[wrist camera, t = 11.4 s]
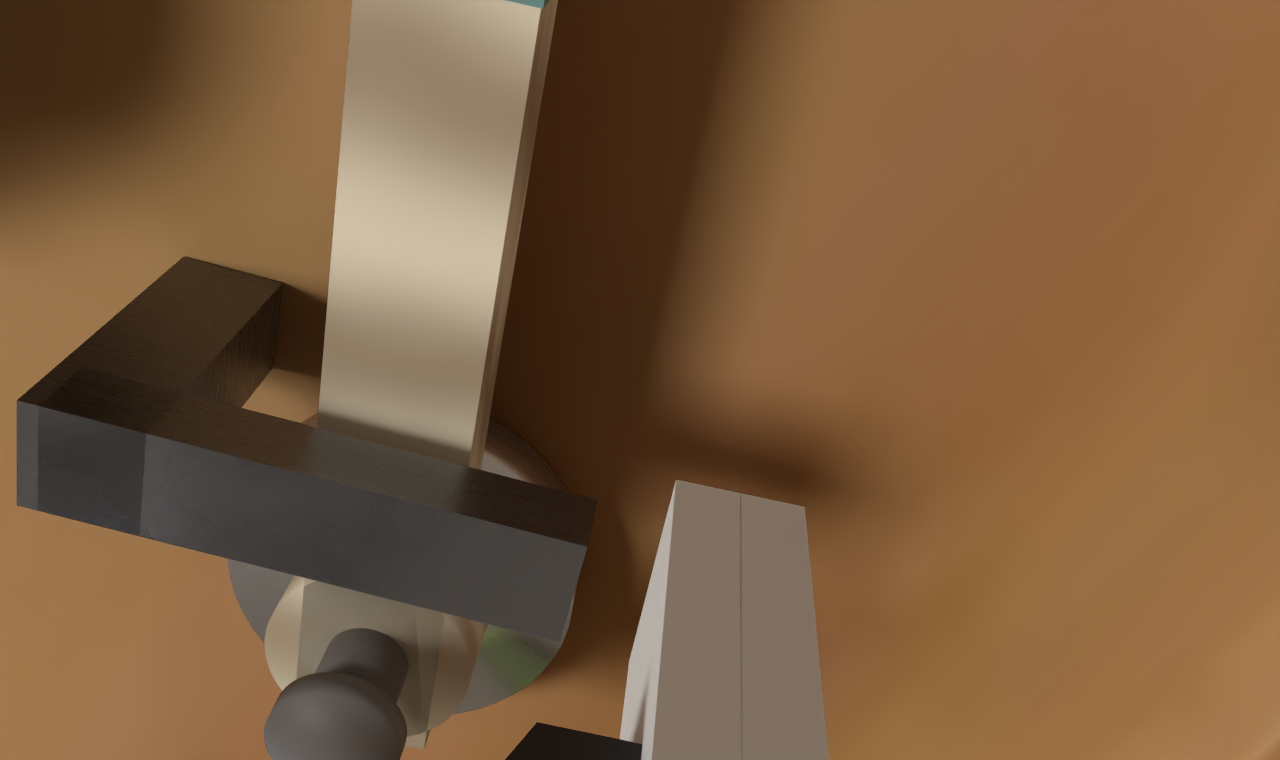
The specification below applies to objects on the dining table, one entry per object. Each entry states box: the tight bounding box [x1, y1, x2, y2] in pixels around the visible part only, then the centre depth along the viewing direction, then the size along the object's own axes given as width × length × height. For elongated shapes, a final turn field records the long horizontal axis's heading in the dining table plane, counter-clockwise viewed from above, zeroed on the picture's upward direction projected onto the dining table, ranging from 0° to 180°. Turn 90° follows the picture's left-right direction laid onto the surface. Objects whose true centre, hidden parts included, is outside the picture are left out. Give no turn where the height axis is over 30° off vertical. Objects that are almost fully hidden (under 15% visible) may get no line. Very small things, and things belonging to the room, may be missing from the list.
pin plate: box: [228, 413, 579, 714], centre depth 38 cm, size 11×11×2 cm
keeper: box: [17, 257, 597, 642], centre depth 32 cm, size 14×3×9 cm, turn 76°
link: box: [264, 0, 558, 760], centre depth 29 cm, size 25×6×6 cm, turn 168°
